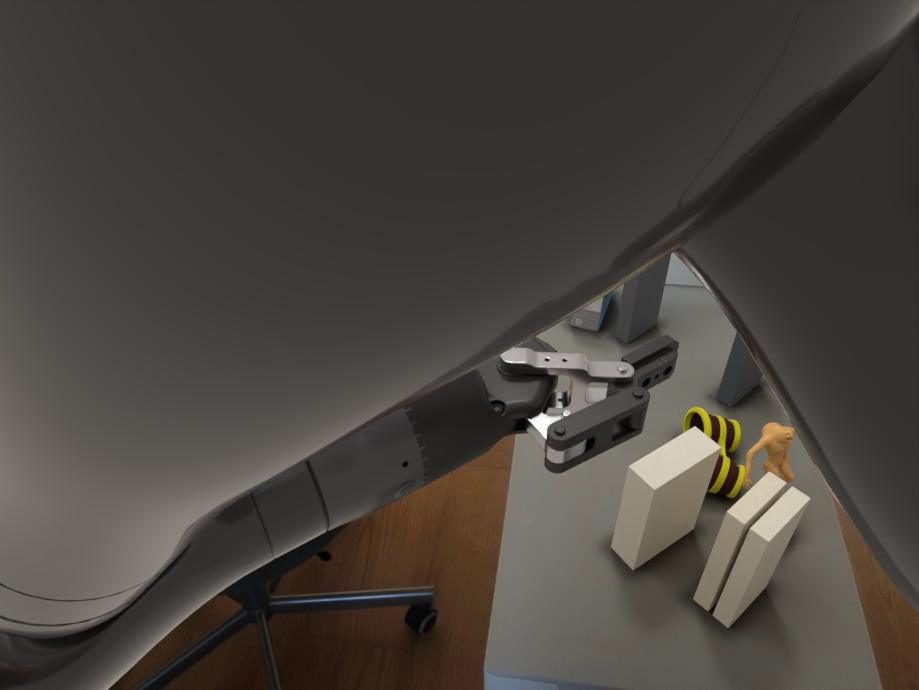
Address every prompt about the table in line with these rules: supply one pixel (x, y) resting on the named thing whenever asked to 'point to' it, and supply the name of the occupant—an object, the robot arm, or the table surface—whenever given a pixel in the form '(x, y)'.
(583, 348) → the table surface
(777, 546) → the white books
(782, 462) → the figurine
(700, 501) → the thin white book
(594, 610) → the table surface
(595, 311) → the label tape box
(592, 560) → the table surface
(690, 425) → the opera glasses
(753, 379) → the grey rectangular blocks
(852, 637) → the table surface
